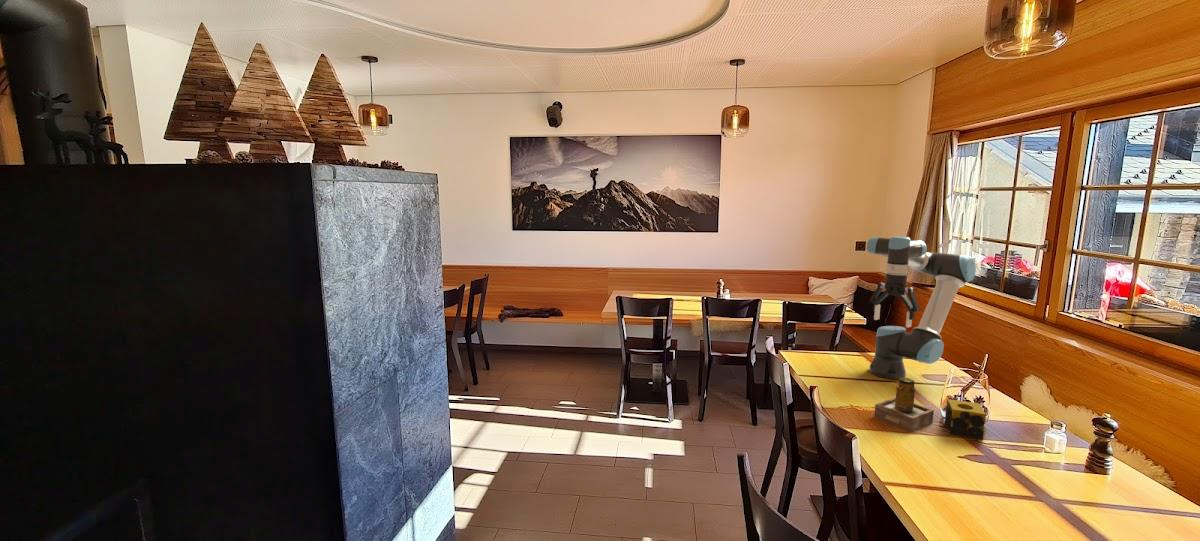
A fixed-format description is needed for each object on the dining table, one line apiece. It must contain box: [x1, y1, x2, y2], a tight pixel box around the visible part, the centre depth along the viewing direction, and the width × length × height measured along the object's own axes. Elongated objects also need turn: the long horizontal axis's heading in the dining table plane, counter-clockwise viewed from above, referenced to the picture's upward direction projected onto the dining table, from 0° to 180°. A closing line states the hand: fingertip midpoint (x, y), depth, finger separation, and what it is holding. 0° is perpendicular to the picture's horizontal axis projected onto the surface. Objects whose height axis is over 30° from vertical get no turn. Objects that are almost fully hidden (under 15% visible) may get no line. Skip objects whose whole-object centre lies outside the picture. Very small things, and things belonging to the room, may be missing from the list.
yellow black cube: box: [944, 398, 987, 440], centre depth 179 cm, size 10×10×10 cm
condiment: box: [891, 377, 922, 416], centre depth 186 cm, size 7×8×12 cm
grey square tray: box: [873, 396, 935, 433], centre depth 188 cm, size 14×14×5 cm
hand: (892, 323), depth 208 cm, fingers open, 13 cm apart
